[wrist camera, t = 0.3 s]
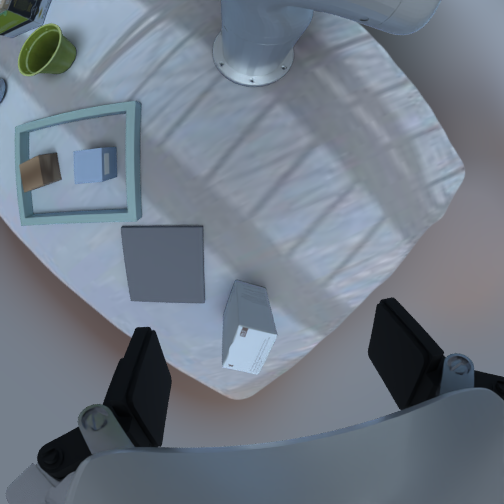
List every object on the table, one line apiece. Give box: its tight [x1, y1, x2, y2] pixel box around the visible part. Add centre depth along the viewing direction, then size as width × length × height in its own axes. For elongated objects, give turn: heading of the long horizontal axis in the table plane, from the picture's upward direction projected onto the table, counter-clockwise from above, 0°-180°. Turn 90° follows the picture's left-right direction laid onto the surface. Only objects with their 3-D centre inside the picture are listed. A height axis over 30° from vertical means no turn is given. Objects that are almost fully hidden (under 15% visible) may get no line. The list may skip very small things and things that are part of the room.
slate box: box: [74, 147, 117, 184], centre depth 37 cm, size 5×5×6 cm
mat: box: [121, 226, 205, 303], centre depth 47 cm, size 14×14×1 cm
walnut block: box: [19, 153, 61, 193], centre depth 36 cm, size 5×5×6 cm
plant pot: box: [18, 23, 76, 76], centre depth 27 cm, size 9×9×9 cm
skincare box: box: [222, 280, 277, 374], centre depth 44 cm, size 8×6×15 cm
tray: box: [15, 101, 142, 226], centre depth 38 cm, size 19×25×3 cm
